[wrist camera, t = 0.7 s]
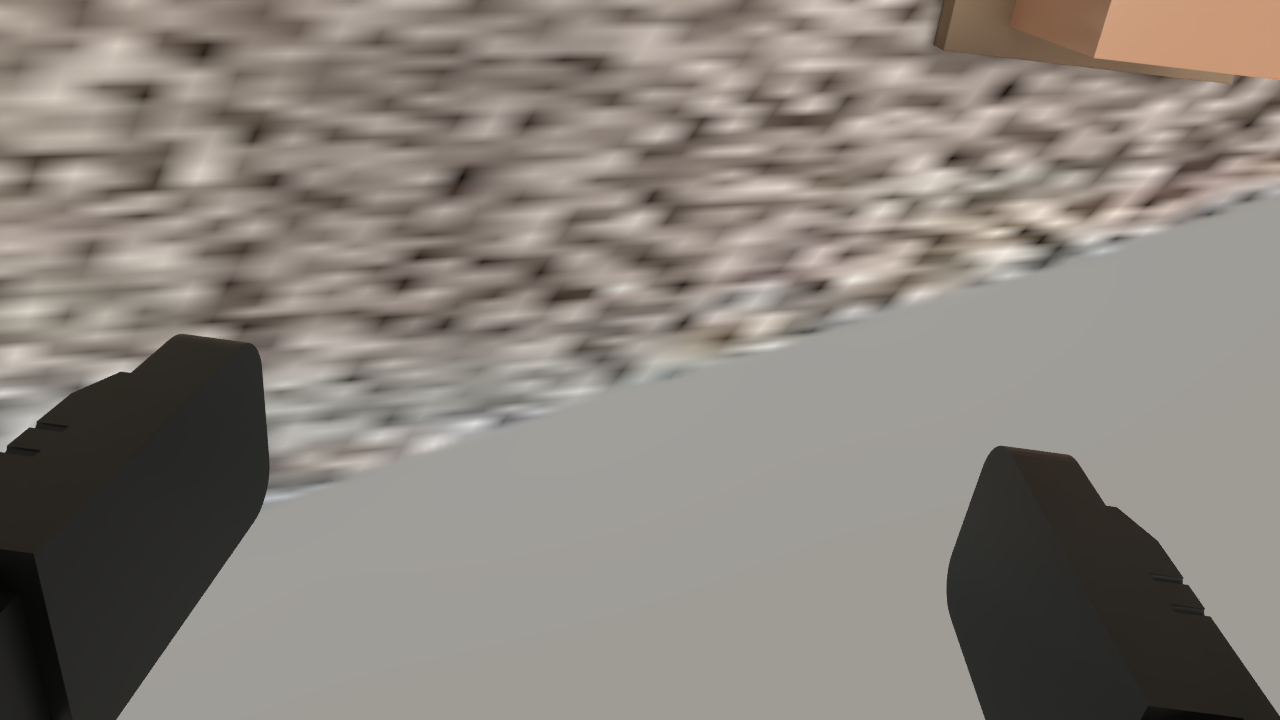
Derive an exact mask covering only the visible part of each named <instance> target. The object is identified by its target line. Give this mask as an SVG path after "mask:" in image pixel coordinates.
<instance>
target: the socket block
mask: <svg viewBox="0 0 1280 720" xmlns="http://www.w3.org/2000/svg"><path fill="white" fill-rule="evenodd" d="M1009 27H1011V28H1014V29H1017V30H1020V31H1022V32H1025V33H1028V34H1030V35H1033V36H1036V37H1038V38H1041V39H1044V40H1047V41H1049V42H1052V43H1055V44H1057V45H1060V46H1063V47H1065V48H1068V49H1071V50H1073V51H1076V52H1079V53H1082V54H1084V55H1087V56H1090V57H1092V58H1098V59H1107V60H1115V61H1124V62H1132V63H1141V64H1149V65H1158V66H1166V67H1175V68H1183V69H1192V70H1200V71H1209V72H1217V73H1226V74H1234V75H1243V76H1251V77H1260V78H1268V79H1277V80H1280V0H1016V3H1015V7H1014V11H1013V15H1012V18H1011V22H1010V26H1009Z"/></svg>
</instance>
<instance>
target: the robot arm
mask: <svg viewBox="0 0 1280 720" xmlns="http://www.w3.org/2000/svg"><path fill="white" fill-rule="evenodd" d="M268 480H269V451H268V438H267V426H266V413H265V400H264V388H263V375H262V365H261V359H260V355H259V353H258V350H257V349H256V347H255V346H254V345H253V344H251V343H246V342H239V341H231V340H224V339H216V338H209V337H201V336H194V335H187V334H178V335H176V336H174V337H172V338H171V339H170V340H169V341H167V342H166V343H165V344H164V345H163V346H162V347H160V348H159V349H158V350H157V351H156V352H155V353H153V354H152V355H151V356H150V357H149V358H148V359H147V360H145V361H144V362H143V363H142V364H141V365H140V366H138V367H137V368H136V369H135V370H134V371H133V372H131V373H127V372H119V373H117V374H115V375H112V376H110V377H108V378H105V379H103V380H101V381H99V382H96V383H94V384H92V385H89V386H87V387H85V388H83V389H80V390H78V391H76V392H73V393H71V394H70V395H69V396H68V397H66V398H65V399H64V400H63V401H61V402H60V403H59V404H58V405H57V406H55V407H54V408H53V409H52V410H50V411H49V412H48V413H47V414H46V415H44V416H43V417H42V418H41V419H39V420H38V421H37V425H36V427H35V428H28V429H27V430H26V431H25V432H23V433H22V434H21V435H20V436H18V437H17V438H16V439H15V440H14V441H12V442H11V443H10V444H9V445H7V450H6V452H5V453H2V452H0V720H116V719H117V718H118V716H119V715H120V713H121V712H122V710H123V709H124V708H125V706H126V705H127V703H128V702H129V700H130V699H131V697H132V696H133V695H134V693H135V692H136V690H137V689H138V688H139V686H140V685H141V683H142V682H143V680H144V679H145V677H146V676H147V675H148V673H149V672H150V670H151V669H152V667H153V666H154V665H155V663H156V662H157V660H158V658H159V657H160V656H161V655H162V653H163V652H164V650H165V649H166V647H167V646H168V644H169V643H170V642H171V640H172V639H173V637H174V636H175V634H176V633H177V631H178V630H179V629H180V627H181V626H182V624H183V623H184V621H185V620H186V619H187V617H188V616H189V614H190V613H191V611H192V610H193V609H194V607H195V606H196V604H197V603H198V601H199V600H200V599H201V597H202V596H203V594H204V593H205V591H206V590H207V589H208V587H209V586H210V584H211V583H212V581H213V580H214V578H215V577H216V576H217V574H218V573H219V571H220V570H221V568H222V567H223V565H224V564H225V563H226V561H227V560H228V558H229V557H230V556H231V554H232V553H233V551H234V550H235V548H236V547H237V546H238V544H239V543H240V541H241V540H242V538H243V537H244V535H245V534H246V533H247V531H248V530H249V528H250V527H251V525H252V524H253V523H254V521H255V519H256V518H257V516H258V514H259V512H260V510H261V507H262V505H263V501H264V498H265V495H266V491H267V486H268ZM947 604H948V609H949V613H950V617H951V620H952V623H953V626H954V629H955V632H956V635H957V638H958V641H959V644H960V647H961V650H962V653H963V656H964V658H965V661H966V664H967V667H968V670H969V673H970V676H971V679H972V682H973V684H974V688H975V691H976V693H977V697H978V700H979V702H980V705H981V708H982V711H983V714H984V717H985V720H1280V716H1279V715H1278V713H1277V712H1276V710H1275V709H1274V707H1273V706H1272V705H1271V703H1270V702H1269V700H1268V699H1267V697H1266V696H1265V695H1264V693H1263V692H1262V690H1261V689H1260V687H1259V686H1258V685H1257V683H1256V682H1255V680H1254V679H1253V677H1252V676H1251V674H1250V673H1249V672H1248V670H1247V669H1246V667H1245V666H1244V664H1243V663H1242V662H1241V660H1240V659H1239V657H1238V656H1237V654H1236V653H1235V651H1234V650H1233V649H1232V647H1231V646H1230V644H1229V643H1228V641H1227V640H1226V638H1225V637H1224V636H1223V634H1222V633H1221V631H1220V630H1219V628H1218V627H1217V626H1216V624H1215V623H1214V621H1213V620H1212V618H1211V617H1209V616H1205V615H1204V609H1205V608H1204V607H1203V605H1202V604H1201V603H1200V601H1199V600H1198V598H1197V597H1196V595H1195V594H1194V592H1193V591H1192V590H1191V588H1190V587H1189V586H1188V585H1184V584H1183V577H1182V575H1181V574H1180V572H1179V571H1178V569H1177V568H1176V567H1175V565H1174V564H1173V562H1172V561H1171V559H1170V558H1169V556H1168V555H1167V554H1166V552H1165V551H1164V549H1163V548H1162V546H1161V545H1160V544H1159V542H1158V541H1157V540H1156V539H1155V538H1153V537H1152V536H1151V535H1150V534H1149V533H1147V532H1146V531H1145V530H1144V529H1143V528H1141V527H1140V526H1139V525H1138V524H1136V523H1135V522H1134V521H1133V520H1132V519H1130V518H1129V517H1128V516H1127V515H1125V514H1124V513H1123V512H1122V511H1121V510H1119V509H1118V508H1117V507H1111V506H1106V505H1105V504H1104V502H1103V501H1102V499H1101V498H1100V496H1099V494H1098V493H1097V491H1096V490H1095V488H1094V487H1093V485H1092V484H1091V482H1090V481H1089V479H1088V478H1087V476H1086V475H1085V473H1084V471H1083V470H1082V468H1081V467H1080V465H1079V464H1078V462H1077V461H1076V460H1075V459H1074V458H1073V457H1072V456H1070V455H1066V454H1058V453H1051V452H1044V451H1036V450H1029V449H1021V448H1014V447H1007V446H998V447H996V448H994V449H993V450H992V451H991V452H990V454H989V455H988V457H987V459H986V461H985V463H984V465H983V468H982V471H981V474H980V476H979V479H978V482H977V485H976V488H975V491H974V493H973V496H972V499H971V502H970V505H969V507H968V511H967V513H966V516H965V519H964V521H963V524H962V527H961V530H960V533H959V536H958V538H957V541H956V544H955V547H954V550H953V552H952V556H951V559H950V563H949V568H948V574H947Z"/></svg>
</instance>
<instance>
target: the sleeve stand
mask: <svg viewBox="0 0 1280 720" xmlns="http://www.w3.org/2000/svg"><path fill="white" fill-rule="evenodd" d="M1015 3H1016V0H944V3H943V7H942V12H941V16H940V20H939V25H938V29H937V33H936V37H935V42H934V45H935V46H937V47H939V48H941V49H942V50H946V51H954V52H962V53H971V54H979V55H988V56H996V57H1005V58H1013V59H1022V60H1030V61H1039V62H1047V63H1056V64H1064V65H1073V66H1081V67H1090V68H1098V69H1107V70H1115V71H1124V72H1132V73H1141V74H1149V75H1158V76H1166V77H1175V78H1183V79H1192V80H1200V81H1209V82H1217V83H1226V84H1232V81H1233V79H1234V76H1235V75H1234V74H1226V73H1217V72H1209V71H1200V70H1192V69H1183V68H1175V67H1166V66H1158V65H1149V64H1141V63H1132V62H1124V61H1115V60H1107V59H1098V58H1092V57H1090V56H1087V55H1084V54H1082V53H1079V52H1076V51H1073V50H1071V49H1068V48H1065V47H1063V46H1060V45H1057V44H1055V43H1052V42H1049V41H1047V40H1044V39H1041V38H1038V37H1036V36H1033V35H1030V34H1028V33H1025V32H1022V31H1020V30H1017V29H1014V28H1011V27H1009V26H1010V22H1011V18H1012V15H1013V11H1014V7H1015Z"/></svg>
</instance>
